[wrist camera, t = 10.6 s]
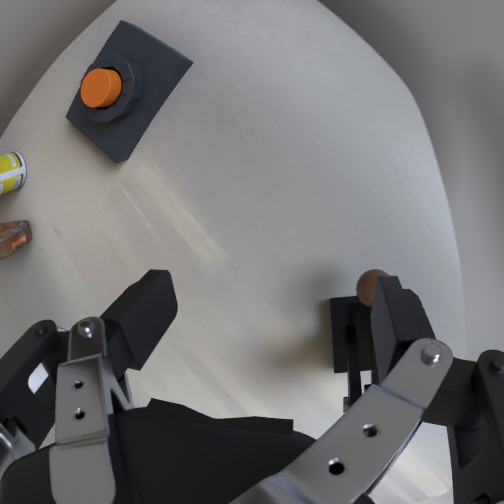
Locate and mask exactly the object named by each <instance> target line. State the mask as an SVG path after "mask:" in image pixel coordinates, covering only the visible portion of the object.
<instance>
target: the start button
mask: <svg viewBox="0 0 504 504" xmlns="http://www.w3.org/2000/svg"><path fill="white" fill-rule="evenodd" d="M121 86H122V84H121V78H120V76H119V75H118V73H117V72H115V71H113V70H108V69H94V70H92V71H91V72H89V73H88V74H87V75H86V77H85V78H84V80H83V82H82V86H81V97H82V100H83V102H84V103H85V104H86V105H87V106H89V107H106V106H109V105H111V104H113V103H114V102H115V101H116V100H117V98H118V96H119V94H120V92H121Z"/></svg>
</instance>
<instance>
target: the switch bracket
mask: <svg viewBox="0 0 504 504" xmlns="http://www.w3.org/2000/svg"><path fill="white" fill-rule="evenodd" d="M330 307H331V321H332V337H333V355H334V373H345V372H347V373H348V397H344V398H343V412H346V411H347V410H348V409H349V408H350V407H351V406H352V405H353V404H354V403H355V402H356V401H357V400H358V399H359V398H360V397H361V396H362V389H361V376H360V371H368V370H371V336H370V312H369V307H368V306H366V305H364V304H363V303H362V302H361V301H360V300H359V298H358V296H351V297H341V298H331V299H330Z"/></svg>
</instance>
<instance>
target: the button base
mask: <svg viewBox="0 0 504 504" xmlns="http://www.w3.org/2000/svg"><path fill="white" fill-rule="evenodd" d="M192 64H193V62H192V61H191V60H189V59H188V58H186V57H185V56H183V55H182V54H180V53H179V52H177V51H176V50H174V49H173V48H171V47H170V46H168V45H166V44H165V43H163V42H162V41H160V40H158V39H157V38H155V37H154V36H152V35H150V34H149V33H147V32H145V31H144V30H142V29H140V28H138V27H137V26H135V25H133V24H131V23H128V22H125V21H123V20H121V21H120V22H119V24H118V25H117V27H116V28H115V30H114V31H113V33H112V34H111V36H110V37H109V39H108V40H107V42H106V43H105V45H104V46H103V48H102V50H101V51H100V53H99V54H98V56H97V58H96V59H95V61H94V63H93V64H91V65H90V66H89V67H88V69H87V71H86V73H85V75H84V76H83V78H82V80H81V85H80V88H79V90H78V92H77V94H76V96H75V98H74V100H73V102H72V104H71V106H70V108H69V110H68V113H67V115H66V118H67V119H68V120H69V121H70V122H71V123H72V124H73V125H74V126H76V127H77V128H78V129H79V130H80V131H81V132H82V133H83V134H84V135H85V136H87V137H88V138H89V139H90V140H91V141H92V142H93V143H94V144H95V145H96V146H98V147H99V148H100V149H101V150H102V151H103V152H104V153H105V154H106V155H108V156H109V157H110V158H111V159H112V160H113V161H114V162H115V163H118V162H121V161H125V160H128V158H129V157H130V155H131V153H132V152H133V150H134V148H135V147H136V145H137V143H138V142H139V140H140V138H141V137H142V135H143V134H144V132H145V130H146V129H147V127H148V126H149V124H150V123H151V121H152V120H153V118H154V116H155V115H156V113H157V112H158V110H159V109H160V108H161V106H162V105H163V103H164V102H165V100H166V99H167V97H168V96H169V95H170V93H171V92H172V90H173V89H174V88H175V86H176V85H177V83H178V82H179V81H180V79H181V78H182V77H183V75H184V74H185V73H186V71H187V70H188V69H189V67H190V66H191V65H192ZM94 69H108V70H113V71H115V72H117V73H118V75H119V76H120V78H121V84H122V86H121V92H120V94H119V96H118V98H117V100H116V101H115V102H114V103H113V104H111V105H109V106H106V107H89V106H87V105H86V104H85V103H84V102H83V100H82V97H81V86H82V82H83V80H84V78H85V77H86V75H87V74H88V73H89V72H91V71H92V70H94Z"/></svg>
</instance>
